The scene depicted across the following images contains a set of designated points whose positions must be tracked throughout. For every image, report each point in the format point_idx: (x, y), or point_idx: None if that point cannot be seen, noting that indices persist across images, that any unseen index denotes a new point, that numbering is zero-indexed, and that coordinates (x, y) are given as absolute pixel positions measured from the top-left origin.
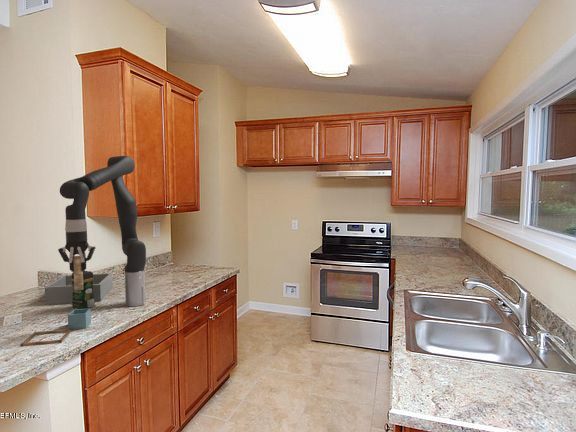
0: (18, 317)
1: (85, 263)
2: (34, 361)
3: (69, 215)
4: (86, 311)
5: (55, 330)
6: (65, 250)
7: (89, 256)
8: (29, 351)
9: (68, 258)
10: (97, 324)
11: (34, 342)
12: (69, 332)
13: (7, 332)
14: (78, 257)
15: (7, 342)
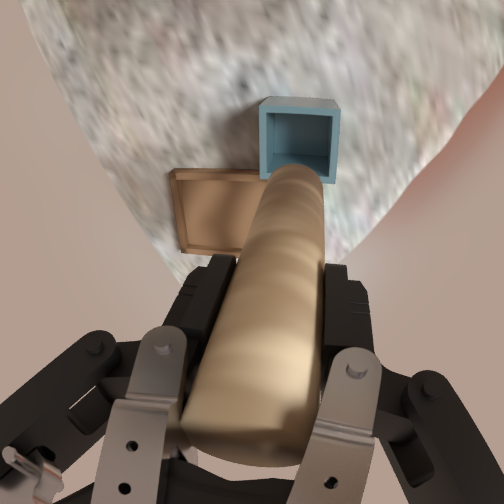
0: (51, 7)
1: (363, 347)
2: None
3: None
4: (331, 152)
5: (231, 175)
6: (53, 488)
7: (420, 467)
8: None
9: (117, 384)
10: (360, 110)
11: (212, 253)
12: None
13: (84, 125)
14: (276, 462)
15: (128, 198)
